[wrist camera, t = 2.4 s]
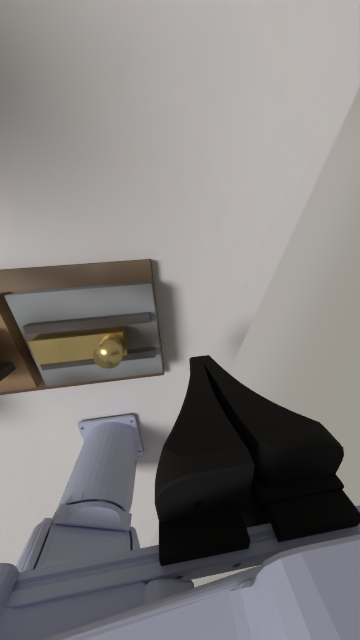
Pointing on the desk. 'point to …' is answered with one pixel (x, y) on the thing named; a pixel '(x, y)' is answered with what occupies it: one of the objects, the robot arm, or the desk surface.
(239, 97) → the desk surface
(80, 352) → the bolt
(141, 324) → the door mockup
